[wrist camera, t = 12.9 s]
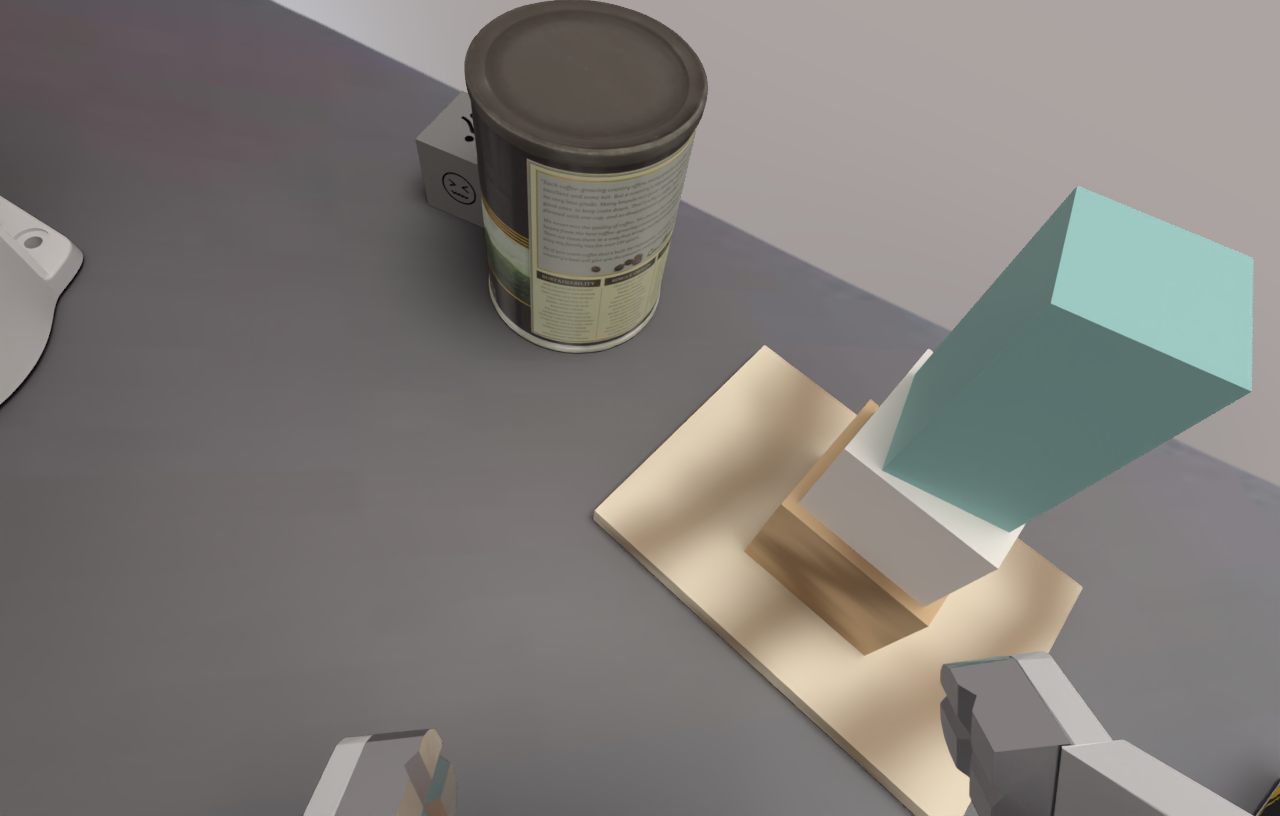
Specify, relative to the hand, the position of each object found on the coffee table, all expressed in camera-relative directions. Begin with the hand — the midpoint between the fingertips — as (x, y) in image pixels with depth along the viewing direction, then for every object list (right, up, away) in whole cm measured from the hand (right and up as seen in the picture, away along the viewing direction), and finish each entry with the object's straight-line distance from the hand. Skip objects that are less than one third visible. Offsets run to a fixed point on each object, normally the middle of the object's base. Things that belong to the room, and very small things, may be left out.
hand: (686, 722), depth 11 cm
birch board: (+9, -2, +23) cm, 25 cm away
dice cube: (-11, +19, +33) cm, 39 cm away
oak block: (+9, -2, +22) cm, 24 cm away
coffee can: (-5, +12, +30) cm, 33 cm away
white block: (+10, +1, +17) cm, 20 cm away
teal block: (+10, +4, +13) cm, 17 cm away
